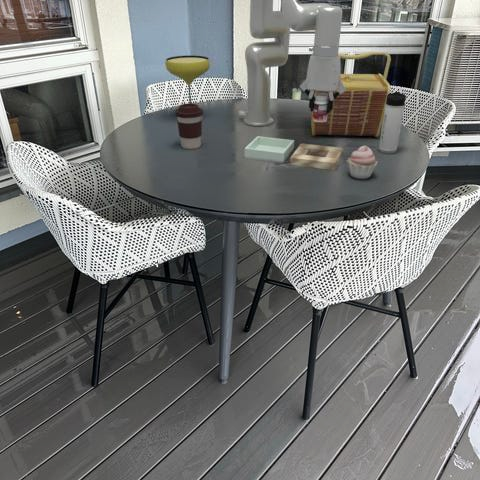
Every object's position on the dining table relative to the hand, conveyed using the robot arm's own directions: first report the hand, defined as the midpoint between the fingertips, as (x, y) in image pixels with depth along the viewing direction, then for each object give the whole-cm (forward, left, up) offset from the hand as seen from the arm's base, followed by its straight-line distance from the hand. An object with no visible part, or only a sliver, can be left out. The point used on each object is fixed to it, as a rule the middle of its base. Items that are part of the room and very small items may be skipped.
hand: (320, 110), depth 147 cm
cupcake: (+16, -9, -17) cm, 25 cm away
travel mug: (+22, +17, -17) cm, 33 cm away
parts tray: (-17, 0, -17) cm, 24 cm away
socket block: (0, 0, -17) cm, 17 cm away
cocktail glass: (-62, +29, -17) cm, 70 cm away
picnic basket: (+3, +35, -17) cm, 39 cm away
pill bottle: (0, 0, -3) cm, 3 cm away
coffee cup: (-47, -2, -17) cm, 50 cm away
